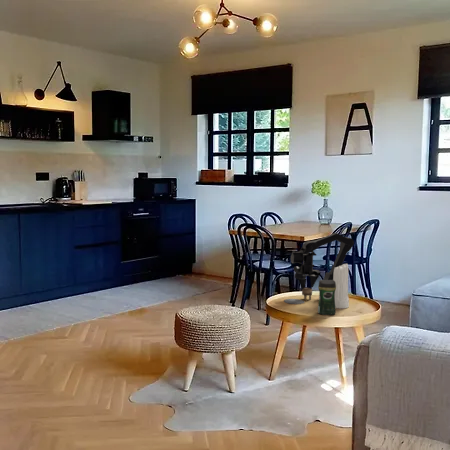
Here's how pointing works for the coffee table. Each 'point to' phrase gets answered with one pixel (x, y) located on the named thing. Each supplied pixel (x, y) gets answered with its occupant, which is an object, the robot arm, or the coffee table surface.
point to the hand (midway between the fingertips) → (307, 288)
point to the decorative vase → (341, 286)
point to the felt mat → (294, 301)
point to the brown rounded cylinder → (307, 293)
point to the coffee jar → (326, 297)
